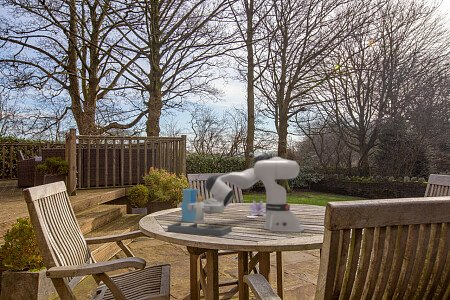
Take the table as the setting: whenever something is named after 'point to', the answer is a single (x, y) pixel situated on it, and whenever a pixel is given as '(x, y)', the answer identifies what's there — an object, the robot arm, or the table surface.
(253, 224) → the table surface
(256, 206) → the water lily
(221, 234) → the cable organizer
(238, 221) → the table surface
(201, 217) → the orange capped bottle
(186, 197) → the vase
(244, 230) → the table surface
